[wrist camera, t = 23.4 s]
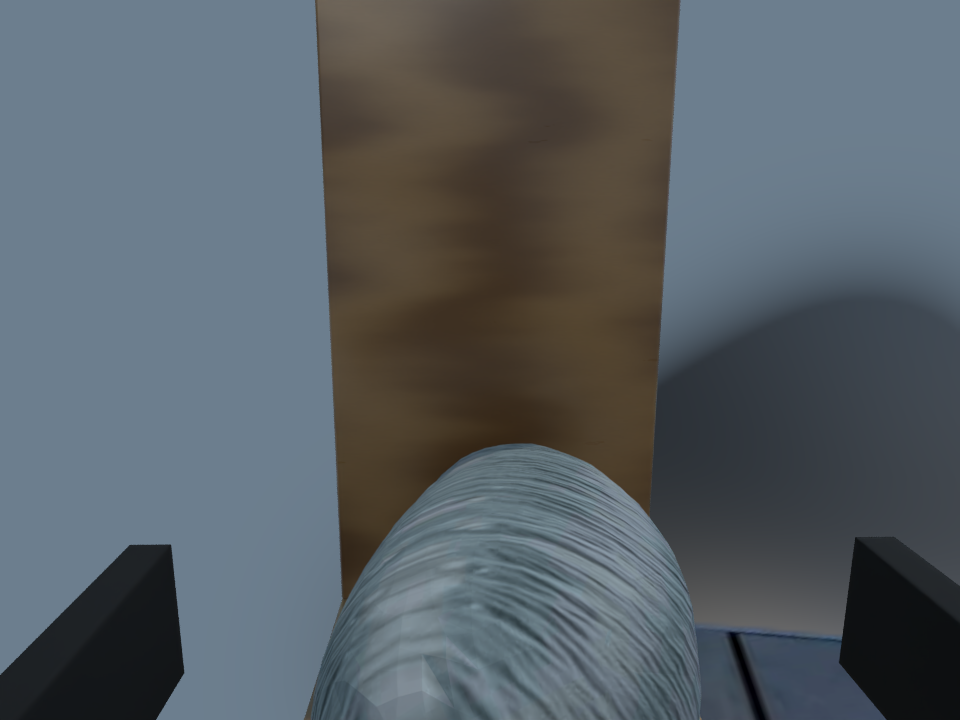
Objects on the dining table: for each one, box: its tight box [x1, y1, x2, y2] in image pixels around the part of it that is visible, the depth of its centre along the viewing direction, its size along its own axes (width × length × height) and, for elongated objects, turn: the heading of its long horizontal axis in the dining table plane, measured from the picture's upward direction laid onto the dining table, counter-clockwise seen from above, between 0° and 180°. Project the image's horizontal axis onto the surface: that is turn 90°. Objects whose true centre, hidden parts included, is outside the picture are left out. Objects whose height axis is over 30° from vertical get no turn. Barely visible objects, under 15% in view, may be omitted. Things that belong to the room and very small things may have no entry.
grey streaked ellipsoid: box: [311, 444, 701, 720], centre depth 18 cm, size 14×10×10 cm
